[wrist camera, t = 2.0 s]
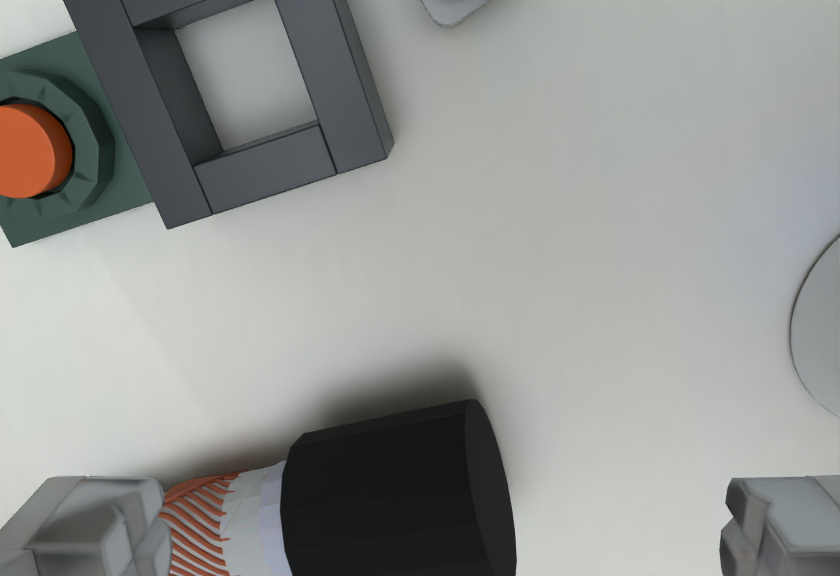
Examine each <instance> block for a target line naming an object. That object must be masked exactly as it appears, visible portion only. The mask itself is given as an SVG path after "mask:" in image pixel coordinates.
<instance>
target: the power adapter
mask: <svg viewBox="0 0 840 576" xmlns="http://www.w3.org/2000/svg"><path fill="white" fill-rule="evenodd" d="M421 1H422V3H423V4H424V6H425V8H426V9H427V11H428V12H429V14H430V16H431V17H432V19H433V20H434V22H435V23H436V24H437V25H439V26H441V27H443V28H449V27H453V26H454V25H456V24H458V23H459V22H460V21H462V20H463V19H465V18H466V17H467V16H469V15H470V14H472V13H473V12H474V11H476V10H477V9H479V8H480V7H481V6H483V5H484V4H486V3H487V2H488V1H490V0H421Z"/></svg>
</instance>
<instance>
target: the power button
mask: <svg viewBox="0 0 840 576" xmlns="http://www.w3.org/2000/svg"><path fill="white" fill-rule="evenodd" d="M72 158H73V157H72V146H71V143H70V140H69V137H68V135H67V133H66V131H65V129H64V128H63V127H62V125H61V124H60V123H59V122H58V121H57V119H55V118H54V117H53V116H52V115H51V114H49V113H48V112H47V111H45V110H43V109H41V108H39V107H37V106H33V105H30V104H22V103H18V104H10V105H3V106H0V194H1V195H3V196H7V197H11V198H28V197H32V196H34V195H37V194H40V193H43V192H45V191H48V190H51V189H53V188H55V187H57V186H58V185H59V184H61V183H62V182H63V181H64V179H65V178H66V177H67V175H68V173H69V171H70V169H71V165H72Z"/></svg>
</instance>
